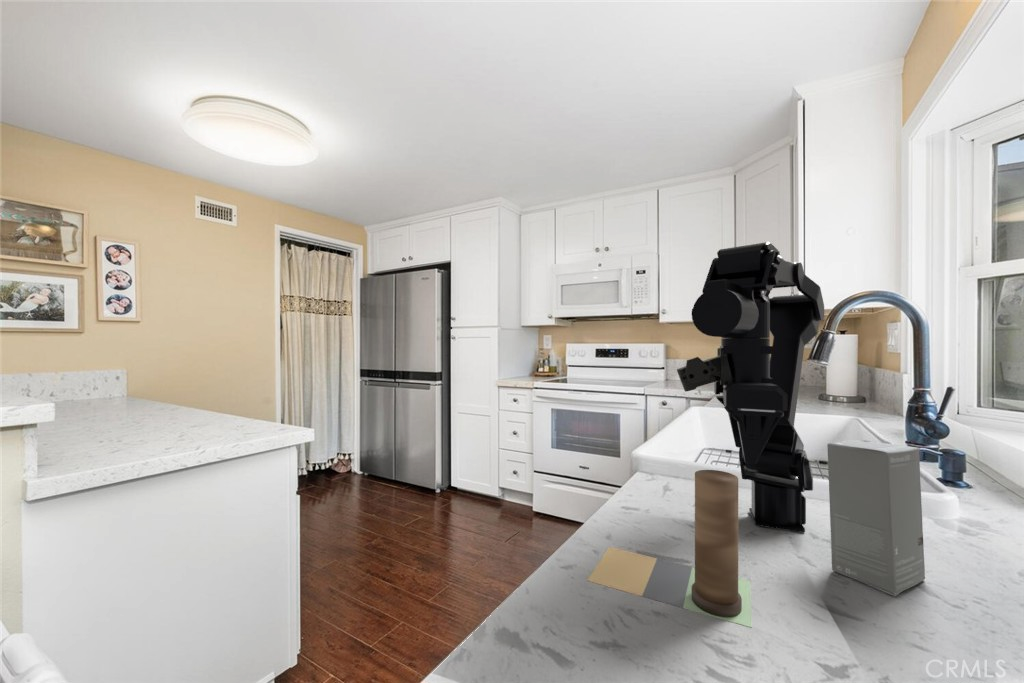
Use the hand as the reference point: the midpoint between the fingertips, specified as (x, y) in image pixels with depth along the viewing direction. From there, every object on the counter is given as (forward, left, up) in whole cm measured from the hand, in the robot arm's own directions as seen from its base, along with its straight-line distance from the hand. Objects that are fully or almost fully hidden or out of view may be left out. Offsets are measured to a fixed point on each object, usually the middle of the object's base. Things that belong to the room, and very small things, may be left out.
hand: (744, 454), depth 56 cm
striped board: (-9, -13, -13) cm, 21 cm away
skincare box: (+14, 0, -13) cm, 19 cm away
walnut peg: (-5, -16, -12) cm, 20 cm away
